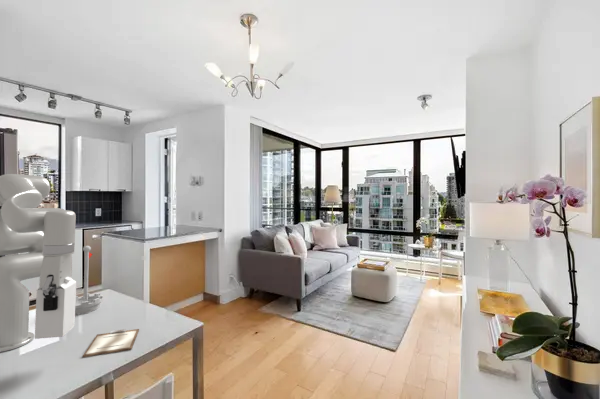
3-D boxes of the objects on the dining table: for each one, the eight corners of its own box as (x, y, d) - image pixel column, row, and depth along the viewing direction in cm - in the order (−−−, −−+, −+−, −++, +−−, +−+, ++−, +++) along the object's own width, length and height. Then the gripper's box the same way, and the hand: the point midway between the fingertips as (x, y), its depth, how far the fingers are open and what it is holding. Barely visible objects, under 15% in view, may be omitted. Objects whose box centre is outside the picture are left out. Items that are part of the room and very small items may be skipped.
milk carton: (34, 339, 82) (36, 276, 81) (48, 328, 88) (51, 270, 88) (62, 337, 84) (65, 275, 83) (74, 326, 90) (77, 269, 90)
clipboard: (82, 357, 90) (82, 353, 90) (97, 336, 104) (97, 332, 104) (131, 349, 95) (131, 346, 95) (139, 330, 109) (139, 327, 109)
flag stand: (94, 313, 124) (96, 247, 124) (60, 315, 121) (62, 248, 121) (107, 303, 136) (109, 243, 136) (77, 304, 133) (78, 243, 133)
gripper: (56, 244, 92) (54, 296, 93) (28, 255, 76) (25, 318, 76) (83, 244, 95) (81, 294, 95) (61, 255, 79) (59, 315, 79)
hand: (56, 304), depth 86 cm, fingers closed on milk carton, 7 cm apart
